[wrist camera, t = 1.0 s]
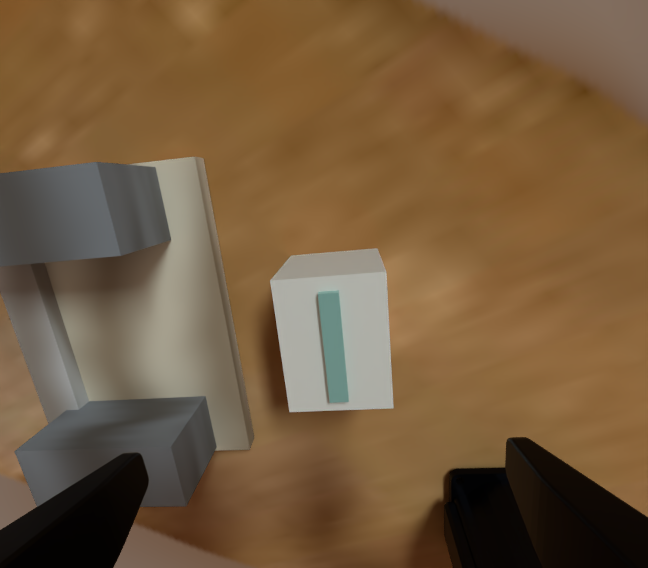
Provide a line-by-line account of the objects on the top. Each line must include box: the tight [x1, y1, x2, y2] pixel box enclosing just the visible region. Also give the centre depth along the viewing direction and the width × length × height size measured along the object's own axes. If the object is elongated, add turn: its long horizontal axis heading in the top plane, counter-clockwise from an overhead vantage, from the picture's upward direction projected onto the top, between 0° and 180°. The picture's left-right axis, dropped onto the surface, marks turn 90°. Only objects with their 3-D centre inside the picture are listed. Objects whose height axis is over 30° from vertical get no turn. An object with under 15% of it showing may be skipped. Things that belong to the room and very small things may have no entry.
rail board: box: [0, 157, 254, 507], centre depth 18 cm, size 12×16×5 cm
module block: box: [270, 248, 393, 412], centre depth 16 cm, size 4×6×5 cm
